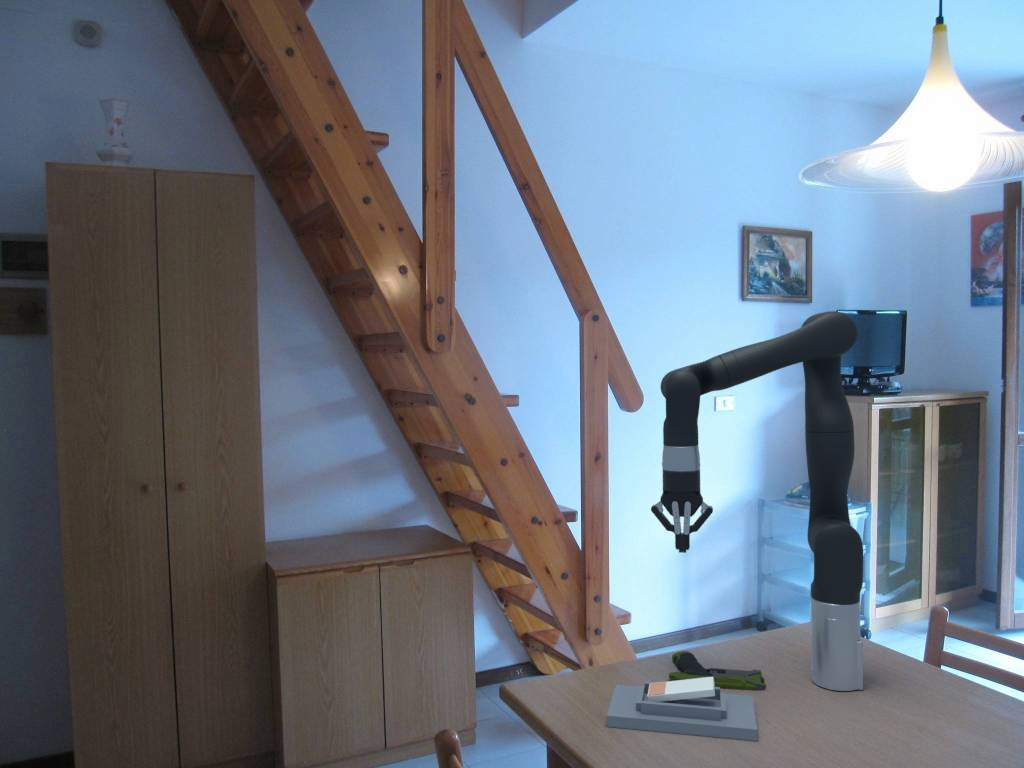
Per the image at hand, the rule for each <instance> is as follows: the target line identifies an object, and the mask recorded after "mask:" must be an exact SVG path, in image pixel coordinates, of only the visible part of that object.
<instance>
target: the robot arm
mask: <svg viewBox="0 0 1024 768" xmlns="http://www.w3.org/2000/svg"><path fill="white" fill-rule="evenodd" d="M858 334H859V333H858V326H857V324H856V322H855V321H854V320H853V318H852V317H850V316H849V314H848V315H847V314H846V313H844V312H841V311H836V310H835V311H834V310H832V311H831V310H830V311H824V312H819V313H816V314H812V315H811V316H808V318H806V319H805V320H804V322H803V323H802V325H801V327H799V328H797V329H795V330H793V331H790V332H788V333H785V334H783V335H780V336H777V337H774V338H770V339H767V340H763V341H759V342H756V343H752V344H748V345H745V346H741V347H738V348H735V349H731V350H729V351H726V352H724V353H721V354H718V355H715V356H712V357H711V358H709V359H706V360H703V361H701V362H697V363H694V364H693V363H692V364H690V365H686V366H683V367H682V366H681V367H679V368H676V369H673V370H671V371H669V372H667V373H665V375H664V376H663V377H662V379H661V382H660V391H661V394H662V396H663V398H665V418H664V420H663V426H662V427H663V428H662V429H663V430H662V431H663V432H662V434H663V435H662V438H663V439H662V440H663V441H662V444H663V448H662V455H661V456H662V458H661V459H662V461H661V466H662V494H661V496H660V500H659V501H658V502H657V503H655V504H653V505H652V506H651V507H650V511H651V513H652V514H653V515H654V516H655V517H656V519H657V520H658V521H659V523H660V524H661V526H663V528H664V529H665V530H666V531H667V532H671V533H673V534H674V540H675V541H674V544H675V550H678V553H683V554H686V553H687V551H689V550H690V546H691V545H690V536H691V534H692V533H696V532H699V530H700V529H701V527H702V526H703V525H704V524H705V522H706V521H707V520H708V519H709V518H710V517H711V515H712V514H713V512H714V508H713V506H712V505H708V504H707V503H706V502H705V501H704V496H703V495H702V493H701V455H700V448H699V425H698V423H699V415H700V402H701V396H703V395H706V394H709V393H711V392H712V393H713V392H717V391H718V392H719V391H723V390H727V389H731V388H734V387H735V386H738V385H742V384H744V383H747V382H749V381H752V380H755V379H757V378H760V377H763V376H765V375H767V374H770V373H773V372H775V371H779V370H780V369H785V368H787V367H790V366H793V365H797V364H800V363H802V367H803V375H804V415H805V416H804V419H805V421H804V423H805V425H804V428H805V429H804V431H805V432H804V433H805V436H804V437H805V439H804V440H805V454H806V465H807V474H808V475H807V476H808V484H809V511H808V524H807V543H808V545H809V548H810V550H811V552H812V553H813V580H812V582H811V584H810V627H811V628H810V631H811V633H810V634H811V635H810V640H811V641H810V642H811V644H810V647H811V648H810V651H811V653H810V654H811V655H810V656H811V659H810V660H811V668H810V669H811V681H812V682H813V683H814V684H815V685H817V686H818V687H821V688H824V689H826V690H827V689H828V690H829V691H837V692H839V691H840V692H850V691H851V692H852V691H855V690H857V691H858V690H860V691H861V690H862V691H863V690H864V649H863V648H864V645H863V640H862V639H861V592H862V589H863V585H864V584H863V583H864V581H863V580H864V546H863V540H862V536H861V535H860V534H859V532H858V531H857V530H856V529H855V528H854V527H853V526H852V525H851V520H850V514H849V503H848V490H849V489H848V488H849V483H850V479H851V475H852V470H853V465H854V460H855V450H856V449H855V426H854V419H853V416H852V412H851V409H850V408H851V407H850V405H849V401H848V399H847V396H846V393H845V390H844V387H843V382H842V367H841V366H842V355H844V354H846V353H847V352H849V351H850V350H852V348H853V347H854V346H855V344H856V341H857V339H858ZM700 507H701V508H700ZM664 508H665V510H666V511H667V513H668V514H669V515H670V516H671V517H673V518H672V519H673V523H671V521H670V519H668V518H667V516H666V515H665V514H664ZM699 509H700V513H701V514H700V515H699V516H698V518H697V519H696V521H694V523H693V524H691V518H692V517H693V516H694V515H695V514H696V513H697V511H698V510H699ZM681 518H683V527H682V525H681V524H682V523H681ZM682 528H683V529H682ZM682 531H683V532H682Z"/></svg>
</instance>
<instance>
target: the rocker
mask: <svg viewBox="0 0 1024 768" xmlns="http://www.w3.org/2000/svg"><path fill="white" fill-rule="evenodd" d="M654 682H655V683H650V684H649V690H648V695H647V698H648V701H651V702H662V701H672V700H682V699H692V698H701V697H711V696H715V683H714V678H713V677H704V678H695V679H686V680H677V681H669V680H667V681H664V680H663V681H654Z"/></svg>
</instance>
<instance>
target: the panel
mask: <svg viewBox="0 0 1024 768" xmlns="http://www.w3.org/2000/svg"><path fill="white" fill-rule="evenodd" d="M655 682H656V681H649V680H647V681H644V685H641V684H640V685H639V686H637V685H635V686H634V685H621V684H615V685H614V689H613V692H612V694H611V695H612V696H611V699H610V702H609V706H608V709H607V713H606V727H607V728H617V729H618V728H619V729H627V730H628V729H629V730H640V731H648V732H649V731H650V732H658V733H670V734H681V735H689V736H690V735H691V736H699V737H700V736H701V737H710V738H711V737H712V738H719V739H720V738H722V739H730V740H731V739H733V740H741V741H742V740H743V741H751V742H753V741H754V742H757V741H758V725H757V718H756V710H755V703H754V696H752V695H743V694H731V693H726V692H725V691H721V688H720V687H715V696H711V697H701V698H692V699H682V700H672V701H662V702H651V701H648V698H647V695H648V690H649V684H650V683H655Z"/></svg>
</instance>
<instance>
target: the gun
mask: <svg viewBox="0 0 1024 768" xmlns="http://www.w3.org/2000/svg"><path fill="white" fill-rule="evenodd" d="M671 660H672V662H673V663H674V664H675V666H676V667H677V668H678V670H680V671H673V672H671V671H670V672H669V673H668V676H669V677H668V681H677V680H686V679H695V678H704V677H713V678H714V683H715V687H720V689H728V690H729V689H730V690H745V691H761V692H762V691H766V686H767V685H766V683H765V678H764V676H763V675H762V671H761V670H760V669H753V670H745V669H744V670H742V669H741V670H740V669H730V668H716V667H710V668H704V667H703V665H702V664H700V663H699V662H698V659H697V657H696V656H695V654H694V653H692V652H690V651H687V650H682V651H678V652H675V653H673V654H672V656H671Z"/></svg>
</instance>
